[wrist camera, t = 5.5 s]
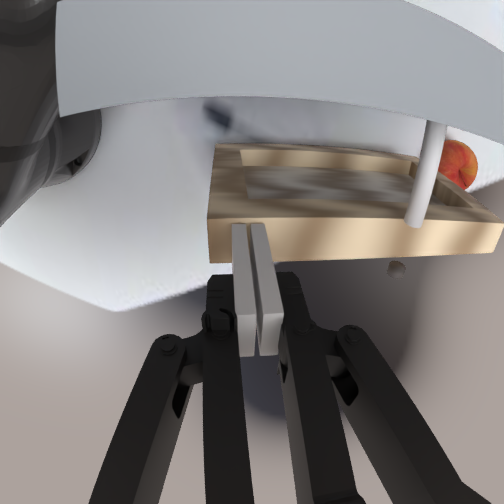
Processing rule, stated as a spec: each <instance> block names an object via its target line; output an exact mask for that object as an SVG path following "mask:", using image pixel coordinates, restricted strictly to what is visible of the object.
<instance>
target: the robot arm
mask: <svg viewBox="0 0 504 504" xmlns="http://www.w3.org/2000/svg"><path fill="white" fill-rule="evenodd" d="M59 1H62V0H0V227H1V226H2V225H3V224H4V222H5V221H6V220H7V219H8V218H9V217H10V216H11V215H12V214H13V213H14V212H15V211H16V210H17V209H18V208H19V207H20V206H21V205H22V204H23V203H24V202H25V201H26V200H28V199H29V198H30V197H31V196H32V195H33V194H34V193H35V192H36V191H37V190H38V189H39V188H42V187H47V186H51V185H55V184H59V183H62V182H65V181H67V180H69V179H70V178H72V177H73V176H75V175H76V174H77V173H78V172H79V171H80V170H82V169H83V168H84V167H85V166H86V165H87V164H88V162H89V161H90V160H91V158H92V157H93V155H94V153H95V151H96V148H97V146H98V143H99V139H100V134H101V114H100V109H95V110H90V111H85V112H80V113H76V114H71V115H67V116H63V117H60V113H59V104H58V93H57V79H56V54H55V34H56V10H57V2H59ZM232 272H233V274H222V275H212V276H211V277H210V279H209V280H208V282H207V300H206V311H205V312H204V313H203V315H202V318H201V320H202V327H203V329H202V330H201V331H200V332H199V333H198V334H196V335H194V336H191V337H189V338H184V339H181V338H180V337H179V336H176V335H174V334H167V335H163V336H160V337H159V338H157V339H156V340H155V342H154V343H153V344H152V346H151V348H150V351H149V353H148V355H147V357H146V359H145V362H144V364H143V366H142V368H141V371H140V373H139V375H138V378H137V380H136V382H135V385H134V387H133V389H132V392H131V394H130V396H129V399H128V401H127V403H126V406H125V408H124V411H123V413H122V416H121V418H120V420H119V423H118V425H117V428H116V430H115V433H114V436H113V438H112V441H111V443H110V446H109V448H108V451H107V454H106V456H105V459H104V462H103V464H102V467H101V470H100V472H99V475H98V478H97V481H96V484H95V486H94V489H93V492H92V495H91V498H90V501H89V504H158V503H159V499H160V496H161V492H162V489H163V485H164V481H165V478H166V475H167V472H168V468H169V465H170V462H171V458H172V454H173V451H174V448H175V445H176V441H177V438H178V435H179V431H180V428H181V425H182V422H183V418H184V415H185V412H186V408H187V405H188V402H189V398H190V395H191V392H192V389H193V386H194V384H197V383H201V382H203V442H204V443H203V445H204V473H205V494H206V504H254V496H253V488H252V479H251V469H250V460H249V450H248V441H247V431H246V420H245V410H244V400H243V389H242V377H241V367H240V357H245V356H254V348H255V347H254V346H255V331H256V330H255V329H256V324H257V333H258V342H259V349H260V356H265V355H277V354H278V349H279V355H280V360H279V365H278V371H277V374H280V378H281V385H282V392H283V399H284V406H285V413H286V421H287V428H288V436H289V443H290V450H291V458H292V466H293V474H294V481H295V489H296V497H297V504H366V503H365V501H364V499H363V498H362V497H361V496H360V495H359V494H358V492H357V489H356V485H355V480H354V475H353V470H352V466H351V461H350V456H349V451H348V447H347V443H346V438H345V433H344V429H343V425H342V420H341V417H340V412H339V408H338V404H337V400H338V402H339V404H340V405H341V408H342V409H343V411H344V413H345V415H346V417H347V419H348V421H349V423H350V424H351V426H352V428H353V430H354V432H355V434H356V435H357V437H358V439H359V441H360V443H361V445H362V447H363V449H364V450H365V452H366V454H367V456H368V458H369V460H370V462H371V463H372V465H373V467H374V469H375V471H376V473H377V475H378V476H379V478H380V480H381V482H382V484H383V486H384V488H385V490H386V491H387V493H388V495H389V497H390V499H391V501H392V503H393V504H491V503H490V502H489V501H488V500H486V499H484V498H483V497H482V496H481V495H479V494H478V493H476V492H475V491H473V490H472V489H471V488H470V487H468V486H467V485H466V484H464V483H463V482H462V481H461V479H460V478H459V476H458V474H457V472H456V471H455V469H454V468H453V466H452V464H451V462H450V461H449V459H448V458H447V456H446V454H445V452H444V451H443V449H442V447H441V446H440V444H439V442H438V441H437V439H436V437H435V436H434V434H433V433H432V431H431V429H430V428H429V426H428V425H427V423H426V421H425V420H424V418H423V417H422V415H421V414H420V412H419V411H418V409H417V407H416V406H415V404H414V403H413V401H412V400H411V398H410V397H409V395H408V394H407V392H406V391H405V389H404V388H403V386H402V385H401V383H400V382H399V380H398V379H397V377H396V375H395V374H394V373H393V371H392V370H391V369H390V367H389V365H388V364H387V362H386V361H385V359H384V358H383V357H382V355H381V353H380V352H379V351H378V349H377V348H376V346H375V345H374V343H373V342H372V341H371V339H370V338H369V336H368V335H367V333H366V332H365V331H364V330H363V329H362V328H359V327H358V326H354V325H346V326H344V327H342V328H340V329H339V331H332V330H327V329H323V328H321V327H319V326H317V325H316V323H315V322H314V321H313V320H311V318H310V315H309V312H308V308H307V305H306V301H305V298H304V295H303V292H302V288H301V285H300V281H299V278H298V277H297V276H296V275H295V274H294V273H293V272H275V269H274V264H273V260H272V255H271V250H270V246H269V241H268V237H267V232H266V228H265V224H251V227H250V256H249V248H248V240H247V231H246V224H232ZM336 399H337V400H336Z"/></svg>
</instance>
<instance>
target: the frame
mask: <svg viewBox="0 0 504 504" xmlns="http://www.w3.org/2000/svg"><path fill="white" fill-rule="evenodd" d="M418 163H419V158H417V157H414V156H408V155H401V154H394V153H387V152H379V151H371V150H362V149H352V148H341V147H329V146H314V145H296V144H262V143H230V144H215V151H214V159H213V167H212V176H211V184H210V194H209V203H208V213H207V230H208V245H209V259H210V263H232V224H246V231H247V240H248V248H249V256H250V227H251V224H265V228H266V232H267V237H268V241H269V246H270V250H271V255H272V260H273V262H276V261H306V260H334V259H360V258H361V259H362V258H385V257H386V258H387V257H410V256H433V255H454V254H474V253H492V252H493V251H494V248H495V246H496V244H497V242H498V239H499V237H500V234H501V232H502V230H503V227H504V223H503V222H502V221H501V220H500V219H499V218H498V217H496V216H495V215H494V214H493V213H492V212H491V211H490V210H488V209H487V208H486V207H485V206H484V205H482V204H481V203H480V202H479V201H477V200H476V199H475V198H474V197H472V196H471V195H470V194H469V193H467V192H466V191H465V190H463V189H462V188H461V187H459V186H458V185H457V184H455V183H454V182H453V181H451V180H450V179H448V178H447V177H446V176H444V175H443V174H441V173H440V172H438V171H437V175H436V179H435V183H434V186H433V190H432V194H431V197H430V201H429V204H428V207H427V210H426V214H425V217H424V220H423V223H422V226H421V228H414V227H411V226H409V225H407V224H406V223H405V222H404V217H405V214H406V210H407V207H408V203H409V200H410V196H411V192H412V188H413V184H414V180H415V176H416V172H417V168H418ZM405 270H406V267H405V266H404V265H403V264H402V263H400V262H398V261H391V262H390V264H389V266H388V269H387V274H388V275H389V276H390V277H392V278H394V279H401V278H402V277H403V275H404V272H405Z"/></svg>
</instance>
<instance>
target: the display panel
mask: <svg viewBox="0 0 504 504" xmlns="http://www.w3.org/2000/svg"><path fill="white" fill-rule="evenodd" d="M55 54H56V79H57V93H58V104H59V113H60V117H63V116H67V115H71V114H76V113H80V112H85V111H90V110H95V109H100V108H106V107H112V106H118V105H124V104H131V103H139V102H147V101H156V100H166V99H178V98H193V97H218V96H257V97H282V98H297V99H309V100H319V101H328V102H336V103H344V104H351V105H358V106H364V107H370V108H375V109H381V110H386V111H391V112H396V113H401V114H405V115H410V116H414V117H418V118H422V119H426V120H427V122H426V128H425V134H424V139H423V144H422V149H421V154H420V159H419V163H418V168H417V172H416V176H415V180H414V184H413V188H412V192H411V196H410V200H409V203H408V207H407V210H406V214H405V217H404V222H405V223H406V224H407V225H409V226H411V227H414V228H421V226H422V223H423V220H424V217H425V214H426V210H427V207H428V204H429V201H430V197H431V194H432V190H433V186H434V183H435V179H436V175H437V171H438V167H439V163H440V159H441V154H442V150H443V145H444V140H445V135H446V130H447V125H448V126H451V127H454V128H458V129H461V130H464V131H467V132H470V133H473V134H476V135H479V136H482V137H485V138H487V139H490V140H493V141H495V142H498V143H500V144H503V145H504V52H502V51H501V50H499V49H498V48H496V47H495V46H493V45H492V44H490V43H488V42H487V41H485V40H484V39H482V38H480V37H479V36H477V35H475V34H473V33H472V32H470V31H468V30H466V29H465V28H463V27H461V26H459V25H457V24H455V23H453V22H451V21H449V20H447V19H445V18H443V17H441V16H439V15H437V14H435V13H433V12H430V11H428V10H426V9H424V8H421V7H419V6H416V5H414V4H411V3H409V2H406V1H404V0H62V1H59V2H57V10H56V34H55Z"/></svg>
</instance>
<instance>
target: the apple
mask: <svg viewBox="0 0 504 504" xmlns="http://www.w3.org/2000/svg"><path fill="white" fill-rule="evenodd" d="M477 170H478V163H477V159H476V156H475V154H474V152H473V151H472V150H471V149H470V148H469V147H468V146H467V145H465V144H464V143H462V142H459V141H456V140H447V141H444V145H443V150H442V154H441V159H440V163H439V167H438V172H440V173H441V174H443V175H444V176H446V177H447V178H448V179H450V180H451V181H453V182H454V183H455V184H457V185H458V186H459V187H461V188H462V189H463V190H465V189H467V188H468V187H469V186H470V185H471V184H472V183H473V181H474V180H475V177H476V175H477Z"/></svg>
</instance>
